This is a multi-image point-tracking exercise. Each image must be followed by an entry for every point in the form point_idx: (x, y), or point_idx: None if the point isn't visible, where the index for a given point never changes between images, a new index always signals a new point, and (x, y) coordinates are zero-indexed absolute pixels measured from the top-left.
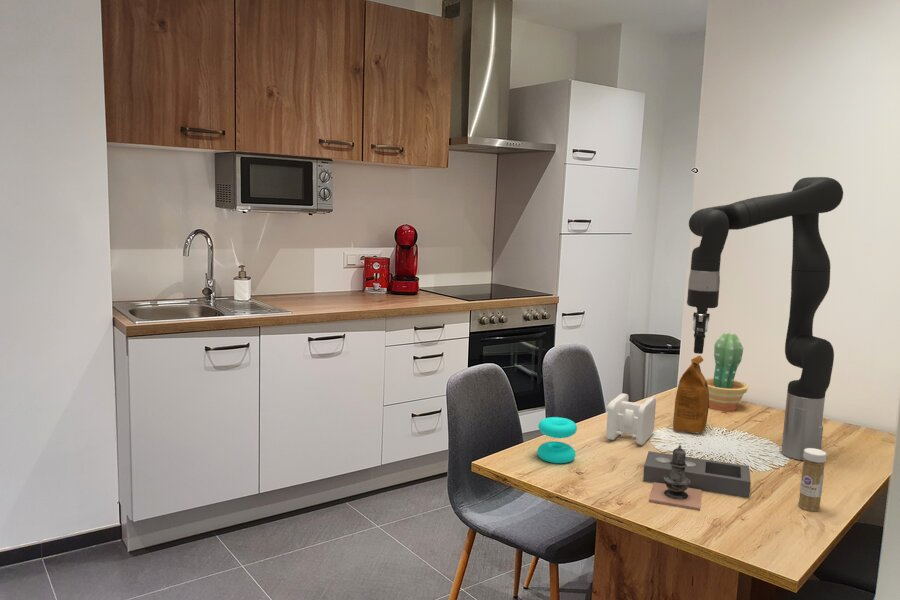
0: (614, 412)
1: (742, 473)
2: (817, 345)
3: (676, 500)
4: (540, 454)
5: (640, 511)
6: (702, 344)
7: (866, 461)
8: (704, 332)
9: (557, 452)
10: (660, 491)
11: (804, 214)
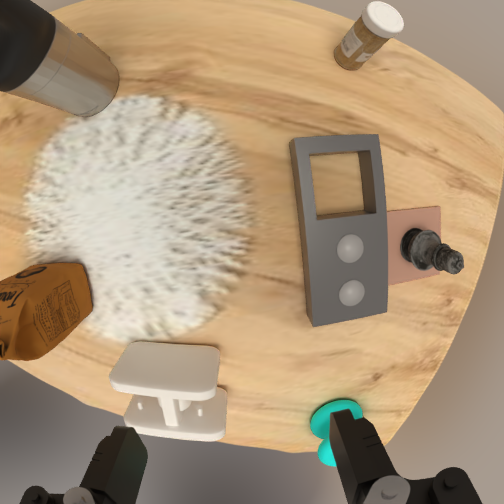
0: (221, 422)
1: (344, 148)
2: None
3: None
4: None
5: (460, 273)
6: (365, 453)
7: (81, 15)
8: (476, 494)
9: (359, 417)
10: (412, 267)
11: None
